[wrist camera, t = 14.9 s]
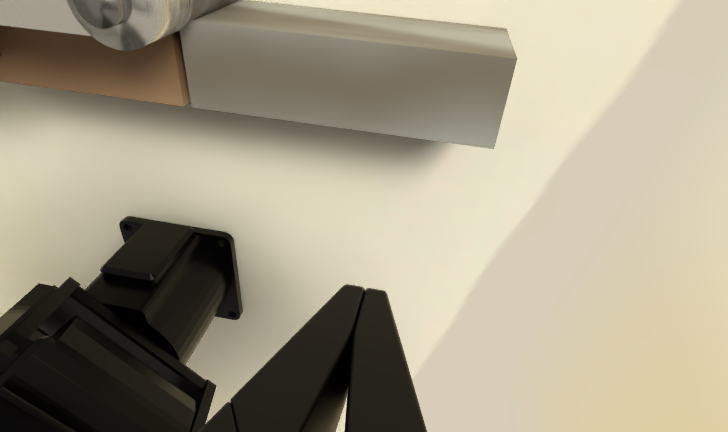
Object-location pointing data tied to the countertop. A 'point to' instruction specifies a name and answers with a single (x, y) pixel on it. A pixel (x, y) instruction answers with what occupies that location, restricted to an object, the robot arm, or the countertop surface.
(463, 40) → the wooden block clamp
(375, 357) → the robot arm
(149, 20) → the bar
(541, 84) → the countertop surface
